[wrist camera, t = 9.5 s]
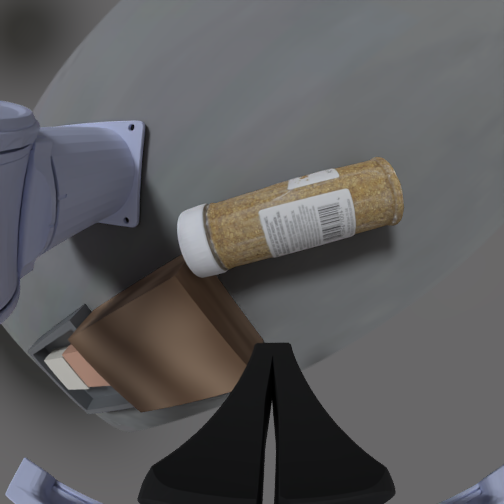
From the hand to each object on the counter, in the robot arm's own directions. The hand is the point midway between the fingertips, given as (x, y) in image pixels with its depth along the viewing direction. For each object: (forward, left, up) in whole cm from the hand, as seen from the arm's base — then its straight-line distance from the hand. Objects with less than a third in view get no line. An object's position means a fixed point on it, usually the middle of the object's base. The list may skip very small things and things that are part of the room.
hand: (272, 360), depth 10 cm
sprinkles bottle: (+7, +7, -8) cm, 13 cm away
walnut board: (-8, -8, -10) cm, 15 cm away
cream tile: (-21, -17, -7) cm, 28 cm away
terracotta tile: (-17, -14, -10) cm, 24 cm away
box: (-19, -17, -10) cm, 27 cm away
